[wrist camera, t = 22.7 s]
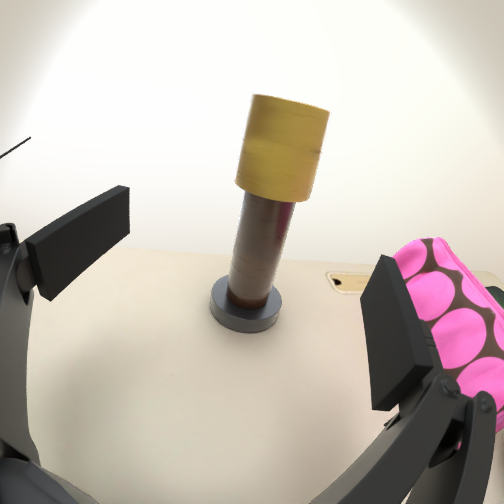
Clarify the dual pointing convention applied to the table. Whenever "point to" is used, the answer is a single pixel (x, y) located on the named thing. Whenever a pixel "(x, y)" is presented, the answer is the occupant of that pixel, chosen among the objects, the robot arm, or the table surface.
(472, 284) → the pencil case
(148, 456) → the table surface
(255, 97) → the yellow-topped cylinder
